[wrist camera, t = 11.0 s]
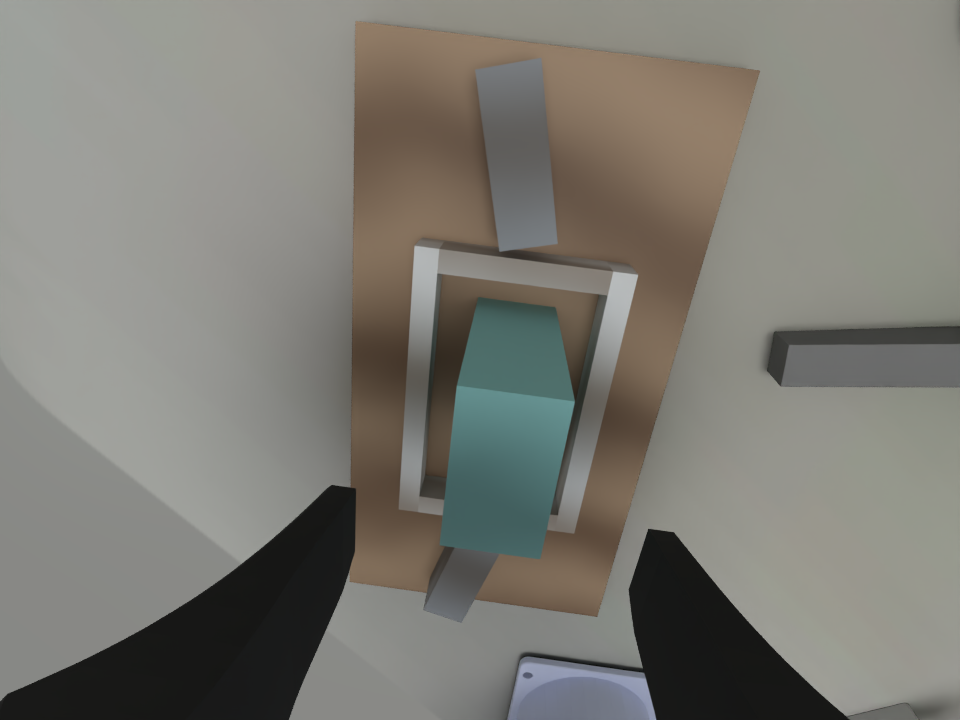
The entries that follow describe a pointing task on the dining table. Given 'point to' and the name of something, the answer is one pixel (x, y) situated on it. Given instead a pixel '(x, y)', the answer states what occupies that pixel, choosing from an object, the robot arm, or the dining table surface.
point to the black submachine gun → (867, 357)
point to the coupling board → (521, 279)
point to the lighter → (888, 713)
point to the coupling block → (507, 430)
